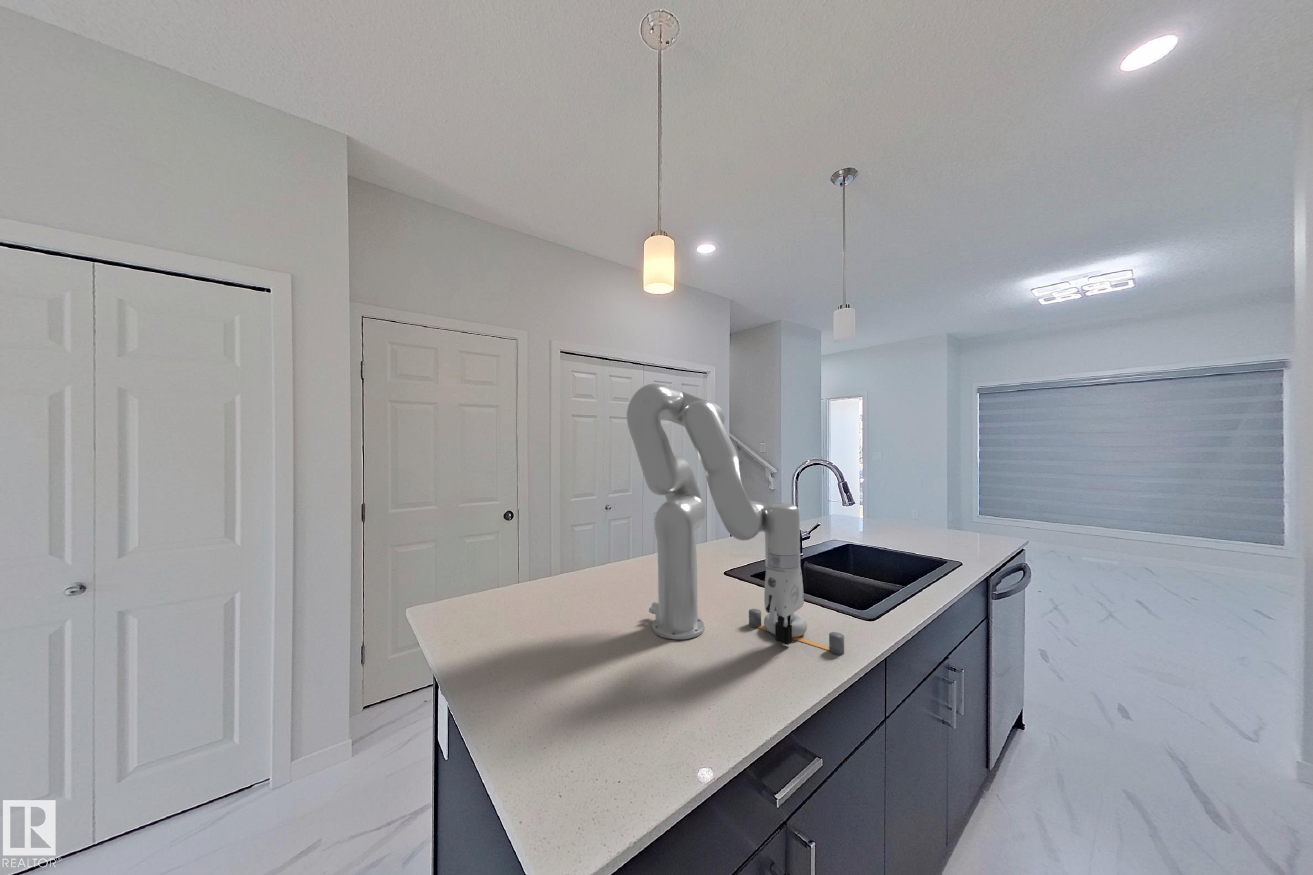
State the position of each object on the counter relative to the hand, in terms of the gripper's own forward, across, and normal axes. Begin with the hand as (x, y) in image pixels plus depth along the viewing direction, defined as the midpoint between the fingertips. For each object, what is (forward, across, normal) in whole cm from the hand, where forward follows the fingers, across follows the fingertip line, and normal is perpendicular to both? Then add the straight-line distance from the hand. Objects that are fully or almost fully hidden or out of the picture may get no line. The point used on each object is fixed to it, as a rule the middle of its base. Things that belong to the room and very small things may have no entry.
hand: (783, 641), depth 99 cm
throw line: (+1, +5, 0) cm, 5 cm away
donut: (-1, +2, +1) cm, 2 cm away
